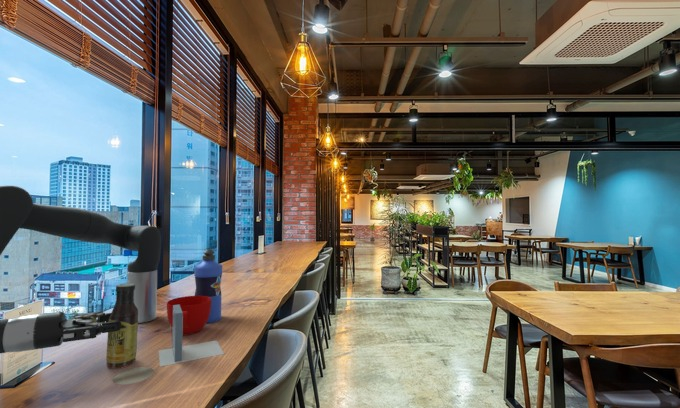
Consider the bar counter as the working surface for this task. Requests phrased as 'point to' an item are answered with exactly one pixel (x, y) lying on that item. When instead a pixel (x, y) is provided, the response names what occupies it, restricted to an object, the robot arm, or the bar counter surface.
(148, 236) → the robot arm
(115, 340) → the sauce bottle
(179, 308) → the tile
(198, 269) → the water bottle
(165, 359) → the mat
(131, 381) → the coaster
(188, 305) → the ceramic cup
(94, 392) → the bar counter surface
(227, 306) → the bar counter surface
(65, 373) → the bar counter surface
